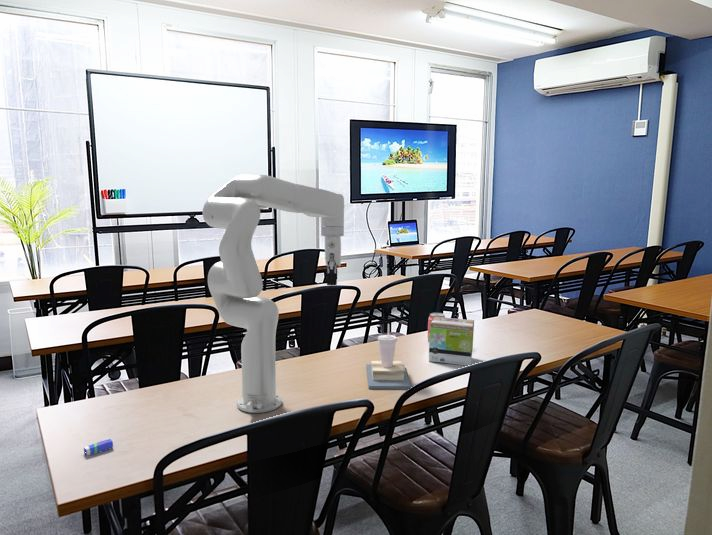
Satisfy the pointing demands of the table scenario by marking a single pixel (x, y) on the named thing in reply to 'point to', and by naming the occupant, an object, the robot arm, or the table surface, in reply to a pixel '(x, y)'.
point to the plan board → (387, 381)
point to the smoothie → (387, 349)
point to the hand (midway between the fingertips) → (332, 282)
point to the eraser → (98, 447)
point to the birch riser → (387, 371)
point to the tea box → (451, 340)
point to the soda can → (431, 321)
